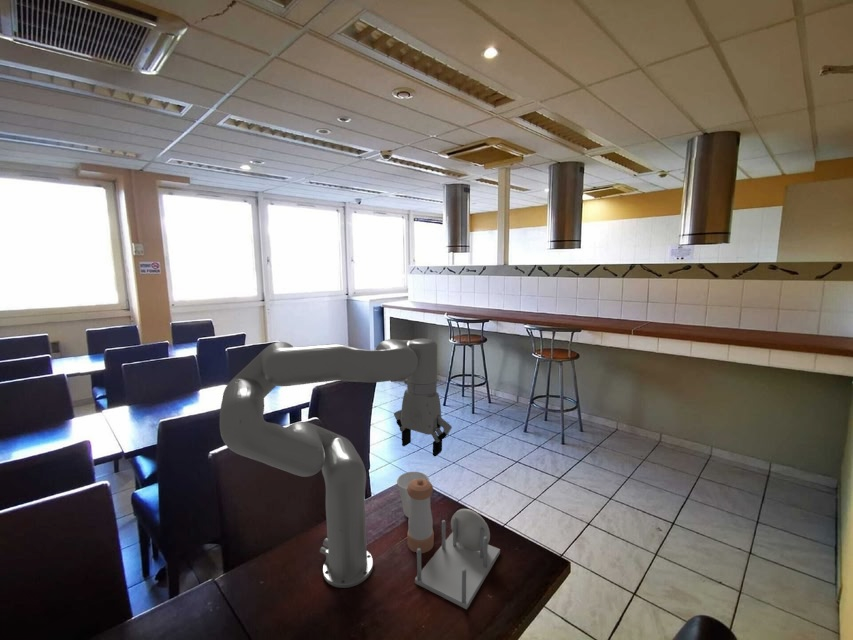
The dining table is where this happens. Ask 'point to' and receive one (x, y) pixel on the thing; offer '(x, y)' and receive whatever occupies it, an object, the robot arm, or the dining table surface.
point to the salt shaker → (420, 516)
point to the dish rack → (459, 559)
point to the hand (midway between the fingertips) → (421, 449)
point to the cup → (403, 485)
